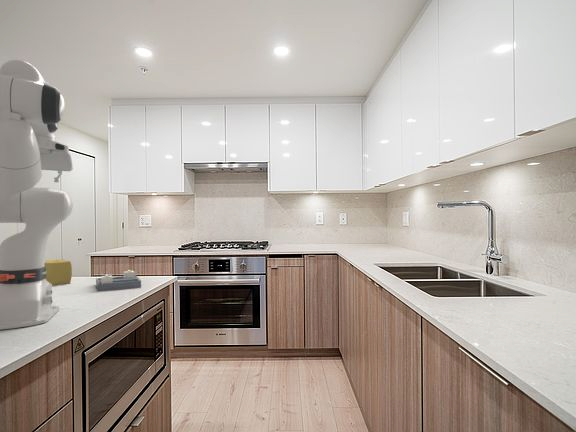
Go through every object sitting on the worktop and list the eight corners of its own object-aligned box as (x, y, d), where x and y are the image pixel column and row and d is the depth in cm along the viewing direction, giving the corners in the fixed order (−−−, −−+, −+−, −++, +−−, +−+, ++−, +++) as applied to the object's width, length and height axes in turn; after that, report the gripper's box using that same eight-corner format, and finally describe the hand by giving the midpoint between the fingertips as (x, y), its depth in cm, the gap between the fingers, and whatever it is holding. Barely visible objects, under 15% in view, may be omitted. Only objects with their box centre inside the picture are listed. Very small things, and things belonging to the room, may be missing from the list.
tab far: (134, 279, 155) (134, 270, 155) (124, 280, 153) (124, 271, 153) (133, 278, 158) (133, 269, 158) (123, 279, 155) (123, 270, 155)
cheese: (36, 283, 153) (36, 260, 153) (64, 280, 161) (64, 258, 161) (43, 287, 146) (43, 263, 146) (72, 283, 154) (72, 260, 154)
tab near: (112, 285, 143) (112, 275, 143) (101, 286, 141) (101, 276, 141) (111, 283, 146) (111, 273, 146) (100, 284, 144) (100, 274, 144)
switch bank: (141, 287, 147) (141, 280, 147) (97, 291, 139) (97, 284, 139) (136, 281, 159) (136, 275, 159) (96, 284, 151) (96, 278, 151)
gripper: (5, 140, 126) (5, 179, 126) (72, 147, 137) (72, 182, 137) (8, 143, 131) (8, 180, 131) (72, 149, 142) (72, 183, 142)
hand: (41, 181), depth 134 cm, fingers open, 8 cm apart
